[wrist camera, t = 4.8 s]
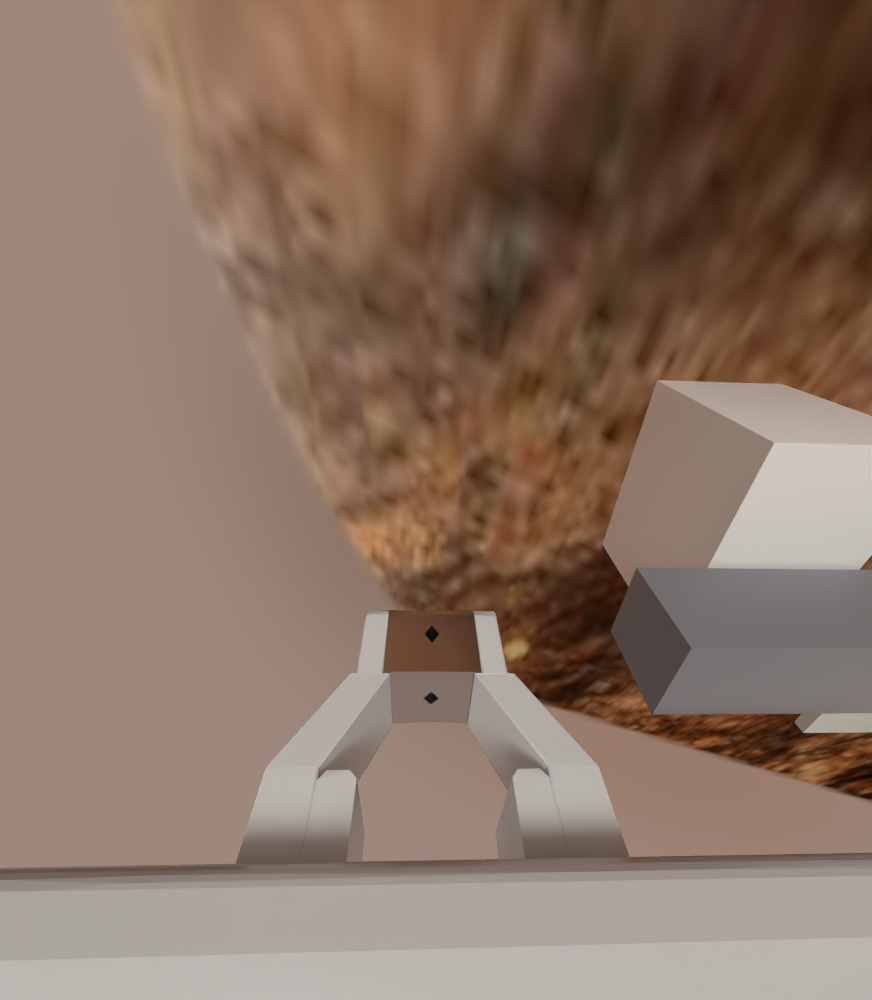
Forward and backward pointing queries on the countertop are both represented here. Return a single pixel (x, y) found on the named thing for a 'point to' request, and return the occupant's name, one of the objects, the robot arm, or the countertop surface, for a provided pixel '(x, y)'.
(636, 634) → the bar
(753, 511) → the off-white cardboard box
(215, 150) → the countertop surface
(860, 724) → the sage mat
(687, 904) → the robot arm
